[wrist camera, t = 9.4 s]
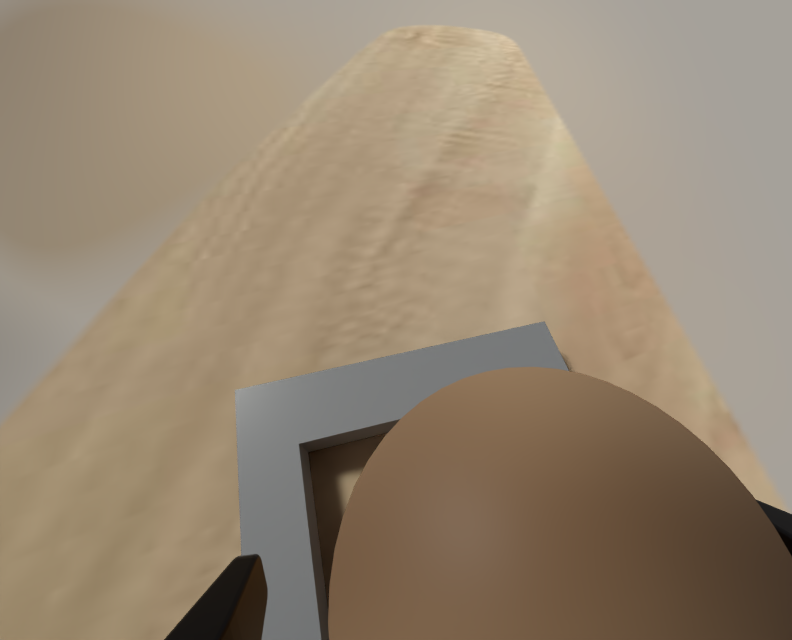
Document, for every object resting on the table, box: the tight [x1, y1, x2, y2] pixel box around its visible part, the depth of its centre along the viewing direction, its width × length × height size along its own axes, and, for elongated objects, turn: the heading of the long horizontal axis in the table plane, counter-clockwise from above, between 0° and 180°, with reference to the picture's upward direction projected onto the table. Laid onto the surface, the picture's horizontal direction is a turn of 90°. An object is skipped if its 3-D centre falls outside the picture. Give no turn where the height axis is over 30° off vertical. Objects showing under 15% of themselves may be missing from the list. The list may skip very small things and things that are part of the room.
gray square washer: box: [235, 322, 569, 640], centre depth 15 cm, size 16×15×2 cm
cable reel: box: [328, 367, 792, 640], centre depth 10 cm, size 7×7×13 cm
